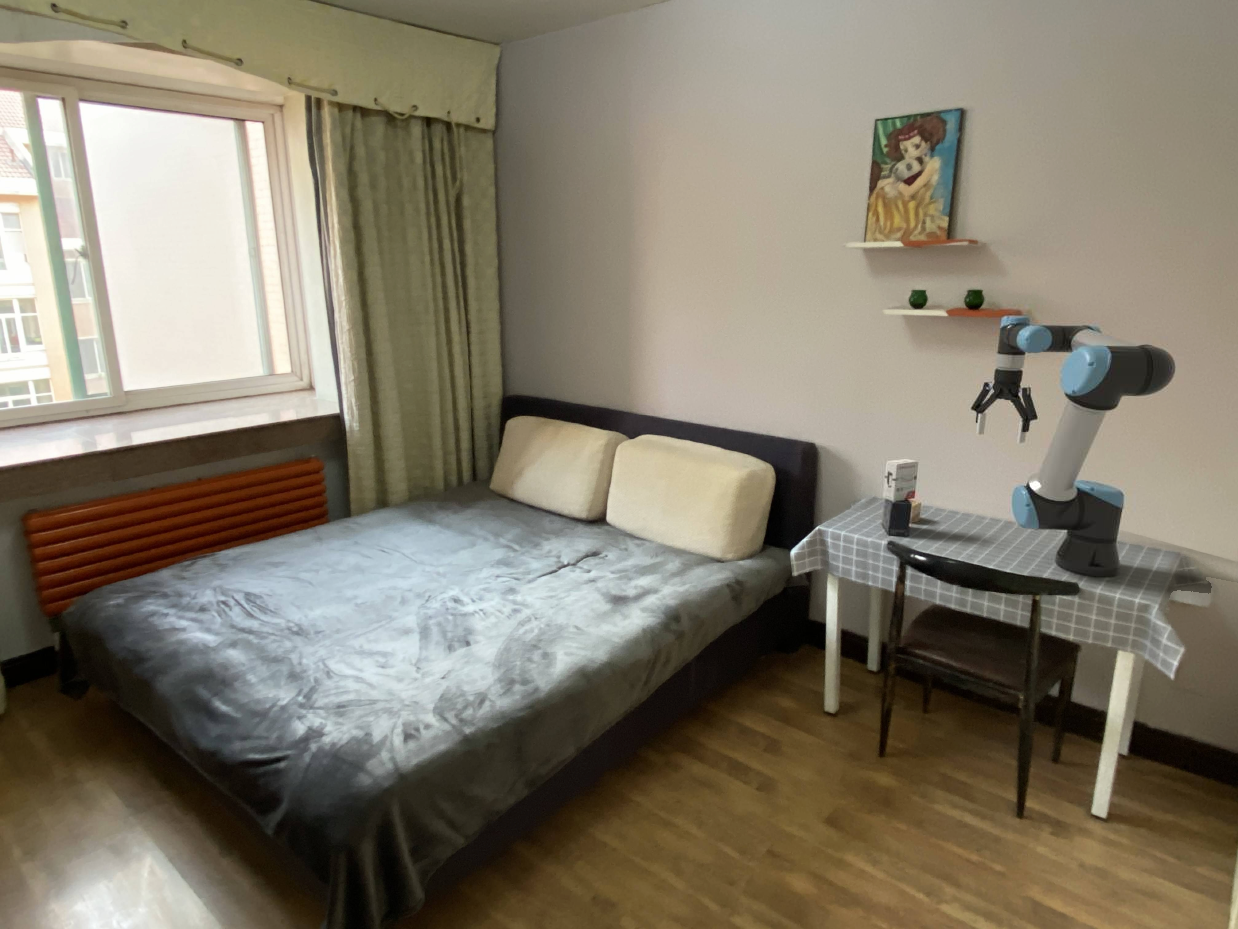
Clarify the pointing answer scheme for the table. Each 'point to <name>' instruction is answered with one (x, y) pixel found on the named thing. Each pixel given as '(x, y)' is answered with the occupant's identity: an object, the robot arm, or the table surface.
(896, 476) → the ink box
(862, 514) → the table surface
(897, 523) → the small box
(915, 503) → the oak cube
